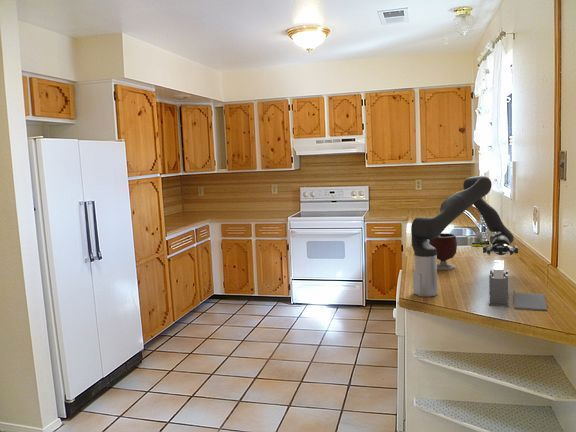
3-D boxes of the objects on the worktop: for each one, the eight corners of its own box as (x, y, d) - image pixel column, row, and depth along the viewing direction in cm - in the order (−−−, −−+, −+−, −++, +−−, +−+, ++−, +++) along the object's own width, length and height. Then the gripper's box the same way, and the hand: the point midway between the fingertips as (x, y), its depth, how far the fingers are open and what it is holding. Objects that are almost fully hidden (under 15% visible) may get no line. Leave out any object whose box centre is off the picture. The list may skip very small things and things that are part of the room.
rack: (490, 297, 203) (489, 269, 202) (508, 299, 200) (508, 270, 199) (488, 305, 193) (488, 275, 192) (508, 306, 190) (508, 276, 189)
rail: (494, 268, 207) (494, 260, 206) (504, 268, 205) (504, 260, 205) (493, 278, 191) (493, 269, 190) (503, 278, 189) (503, 270, 189)
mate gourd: (438, 263, 272) (437, 227, 270) (462, 266, 262) (461, 228, 260) (423, 268, 261) (422, 231, 259) (447, 271, 251) (446, 232, 249)
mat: (514, 293, 206) (514, 292, 206) (543, 295, 202) (543, 294, 202) (514, 308, 187) (514, 307, 187) (547, 310, 183) (547, 309, 183)
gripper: (483, 237, 230) (482, 243, 216) (517, 237, 224) (518, 244, 210) (484, 253, 231) (482, 260, 216) (517, 253, 225) (518, 261, 211)
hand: (500, 252), depth 213 cm, fingers open, 8 cm apart
